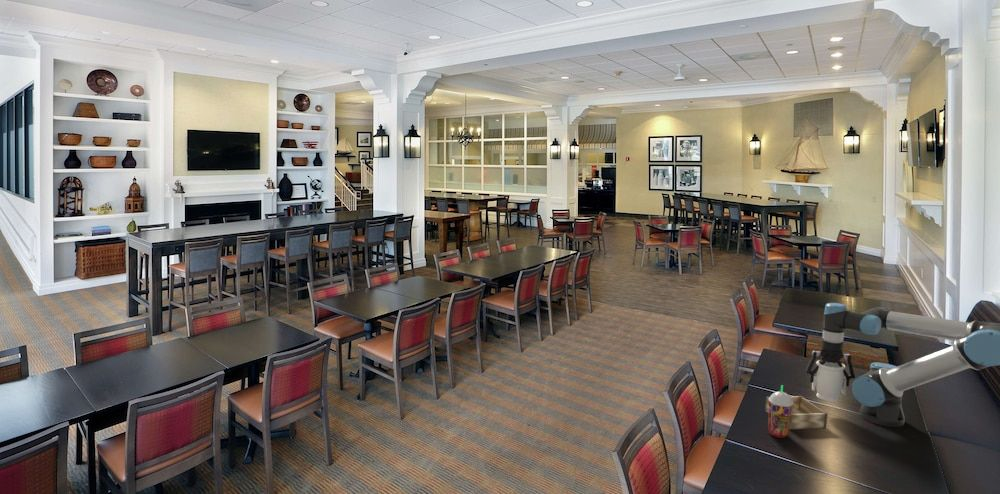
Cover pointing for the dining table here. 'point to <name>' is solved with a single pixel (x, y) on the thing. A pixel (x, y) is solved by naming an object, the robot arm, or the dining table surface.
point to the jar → (829, 381)
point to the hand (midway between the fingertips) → (828, 391)
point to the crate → (804, 414)
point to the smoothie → (779, 413)
